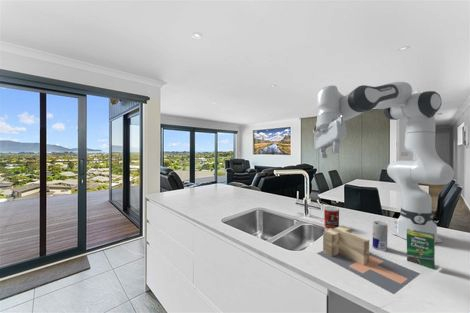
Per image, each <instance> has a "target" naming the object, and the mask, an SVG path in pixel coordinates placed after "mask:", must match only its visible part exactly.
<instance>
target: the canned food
mask: <svg viewBox="0 0 470 313" xmlns="http://www.w3.org/2000/svg"><path fill="white" fill-rule="evenodd" d="M323 214H324V217H323V218H324V219H323V220H324V223H323V224H324V225H323V226H324V227H325V228H326V229H329V230H331V229H334V228H337V227H340V209H339V208H338V207H336V206H325V207H324V213H323Z"/></svg>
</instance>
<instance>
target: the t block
mask: <svg viewBox="0 0 470 313" xmlns="http://www.w3.org/2000/svg"><path fill="white" fill-rule="evenodd" d="M322 234H323V235H322V243H323V244H322V251H323V253H325V254H327V255H329V256H331V257H332V256H335V255H337V254H341V255H343V256H345V257H347V258H349V259H351V260H354V261H356V262H358V263H360V264H362V265H365V264H367V263H369V253H370V239H369V238H366V237H363V236H360V235H357V234H354V233H352V228H350V227H348V226H345V225H341V226H340V225H339V227H337V228H334V229H332V228H330V229H329V230H325V231H323V232H322Z"/></svg>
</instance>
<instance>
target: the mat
mask: <svg viewBox="0 0 470 313" xmlns="http://www.w3.org/2000/svg"><path fill="white" fill-rule="evenodd" d="M316 254H317V255H319V256H321V257H323V259H327V260H329V261H330V262H333V263H334V264H336V265H338V266H340V267H342V268H343V269H345V270H347V271H349V272H350V273H353V274H355V276H359V277H361V278H362V279H364V280H366V281H368V282H370V283H372V284H374V285H375V286H377V287H380V288H381V289H383V290H385V291H387V292H389V293H390V294H392V295H395V294H397V293H398V292H399V291H400V290H402V288H404V287H405V286H406V285H408V284H409V283H410V282H412V281H413V280H414V279H416V277H418V276H419V275H421V273H420V272H417V271H415V270H412V269H410V268H408V267H405V266H403V265H400V264H398V263H396V262H393V261H391V260H388V259H386V258H383V257H382V256H378V255H376V254H374V253H371V252H369V263H367V264H365V265H362V264H360V263H358V262H356V261H354V260H351V259H349V258H347V257H345V256H343V255H341V254H337V255H335V256H332V257H331V256H329V255H327V254H325V253H323V250H322V251H319V252H317V253H316Z"/></svg>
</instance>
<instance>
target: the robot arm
mask: <svg viewBox="0 0 470 313" xmlns="http://www.w3.org/2000/svg"><path fill="white" fill-rule="evenodd" d="M441 106H442V97H441V95H440V94H439V92H436V91H435V90H427V91H423V92H417V93H413V87H412V85H411V84H410V83H409V82H406V81H393V82H389V83H384V84H382V85H379V86H371V85H367V84H366V85H364V84H362V85H359V86H357V87H356V88H354V89H353V90H352V91H350V93H347V94H346V95H343V94H342V93H341V92H340V91H339V89H338V87H337V86H336V85H327V86H324V87H322V89H320V90H319V91H318V92H317V95H316V110H317V116H316V121H315V122H316V123H315V125H314V127H313V128H312V132H313V134H314V136H313V139H314V140H313V141H314V142H313V143H314V149H315V150H317V151H319V152H320V155H321V159H323V160H324V159H327V158H328V154H327V152H326V151H327V149H328V148H330V147H332V146H333V148H332V149H331V151H332V152H331V153H332V154H334V155H337V154H339V153H340V152H339V151H340V146H341V142H342V141H344V140H345V139H346V138H347V136H348V132H347V124H346V121H349V120H350V119H352V118H356V117H358V116H360V115H361V114H364V113H366V112H369V111H372V110H373V109H377V110H383V114H384V116H385V117H386V119H388V120H393V121H395V120H396V121H397V120H404V119H405V120H406V119H407V123H406V126H405V135H404V144H403V145H404V149H405V151H407V152H409V153H411V154H413V155H414V156H415V158H416V160H395V161H391V162H390V163H388V165H387V168H386V173H387V175H388V177H390V178H391V179H392V180H393V181H394V182H395V183H396V185H397V186H398V188H399V191H400V193H401V194H400V195H401V207H400V215H399V217H398V218H397V219H394V221H393V222H394V224H393V225H392V226H393V227H392V232H391V235H393V236H397V237H399V238H401V239H404V240H406V241H407V229H413V230H417V231H422V232H426V233H432V234H434V244H436V243H442V239H441V238H440V237H438V229H437V228H438V226H437V224H436V223H435V222H434V221H433V218H434V215H433V212H432V203H433V201H432V200H433V198H432V196H431V195H430V194H429V193H428V192H427V191H425V190H424V189H422V188H421V187H420V185H419V184H422V185H423V184H424V185H425V184H426V185H433V186H437V185H439V186H441V185H447V184H450V183H451V182H452V180H453V179H454V176H455V171H454V169H453V168H452V166H451V165H450V164H448V163H447V162H445V161H444V160H442V158H440V156H439V154H438V152H437V150H436V119H435V115H436V113H437V112H439V110H440V108H441Z"/></svg>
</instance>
